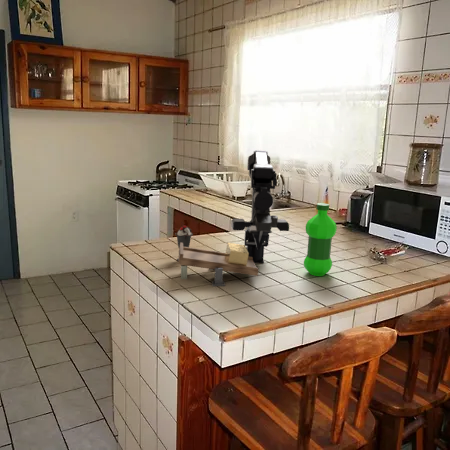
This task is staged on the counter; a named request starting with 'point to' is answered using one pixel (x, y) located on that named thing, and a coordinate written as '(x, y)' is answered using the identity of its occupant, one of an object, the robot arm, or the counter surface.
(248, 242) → the robot arm
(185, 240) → the sundae
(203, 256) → the wooden tray
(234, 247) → the tan wood-grain block
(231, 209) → the counter surface
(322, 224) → the plastic bottle
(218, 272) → the pivot stand
